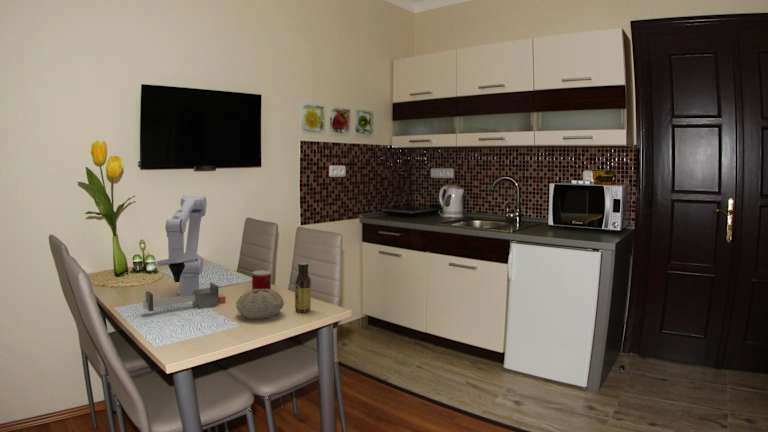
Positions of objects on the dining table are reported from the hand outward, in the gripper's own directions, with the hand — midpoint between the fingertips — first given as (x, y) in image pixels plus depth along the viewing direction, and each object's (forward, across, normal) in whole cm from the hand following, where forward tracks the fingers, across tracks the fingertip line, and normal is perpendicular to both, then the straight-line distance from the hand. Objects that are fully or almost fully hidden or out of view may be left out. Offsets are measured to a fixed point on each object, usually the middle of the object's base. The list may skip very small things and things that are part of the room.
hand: (176, 281), depth 194 cm
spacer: (+9, +15, -4) cm, 18 cm away
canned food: (+11, +34, -6) cm, 36 cm away
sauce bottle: (+11, +38, -34) cm, 52 cm away
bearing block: (+10, +10, -4) cm, 15 cm away
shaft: (+8, -2, -4) cm, 10 cm away
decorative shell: (+11, +22, -29) cm, 38 cm away
